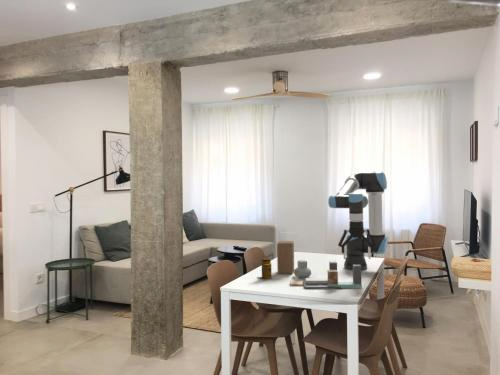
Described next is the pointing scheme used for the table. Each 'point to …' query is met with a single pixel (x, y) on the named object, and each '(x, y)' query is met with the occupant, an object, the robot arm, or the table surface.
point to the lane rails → (319, 286)
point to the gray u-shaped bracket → (314, 280)
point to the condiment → (266, 269)
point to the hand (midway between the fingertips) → (357, 258)
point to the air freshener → (302, 270)
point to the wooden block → (285, 257)
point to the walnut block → (332, 277)
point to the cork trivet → (296, 283)
